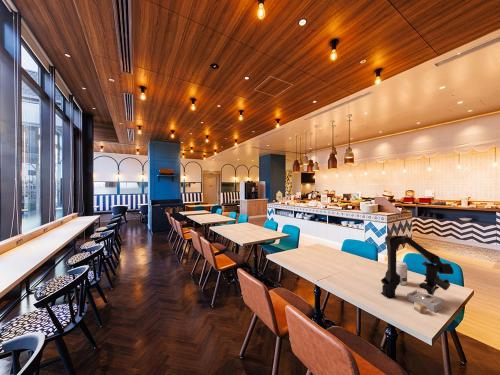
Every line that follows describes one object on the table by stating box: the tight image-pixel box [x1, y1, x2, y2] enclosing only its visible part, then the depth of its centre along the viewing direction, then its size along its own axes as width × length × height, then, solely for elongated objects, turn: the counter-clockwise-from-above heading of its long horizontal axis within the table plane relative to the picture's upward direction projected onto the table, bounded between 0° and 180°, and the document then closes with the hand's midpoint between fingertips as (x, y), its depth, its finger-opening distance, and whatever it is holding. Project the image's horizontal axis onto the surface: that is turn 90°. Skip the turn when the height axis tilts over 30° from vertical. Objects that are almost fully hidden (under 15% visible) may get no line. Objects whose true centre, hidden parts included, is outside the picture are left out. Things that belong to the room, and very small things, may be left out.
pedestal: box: [413, 302, 428, 314], centre depth 119 cm, size 4×4×4 cm
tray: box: [412, 289, 443, 305], centre depth 127 cm, size 12×12×4 cm
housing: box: [406, 289, 445, 313], centre depth 127 cm, size 12×14×4 cm
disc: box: [419, 294, 434, 303], centre depth 127 cm, size 7×7×2 cm
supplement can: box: [396, 260, 408, 286], centre depth 153 cm, size 8×8×15 cm
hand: (431, 297), depth 131 cm, fingers closed
